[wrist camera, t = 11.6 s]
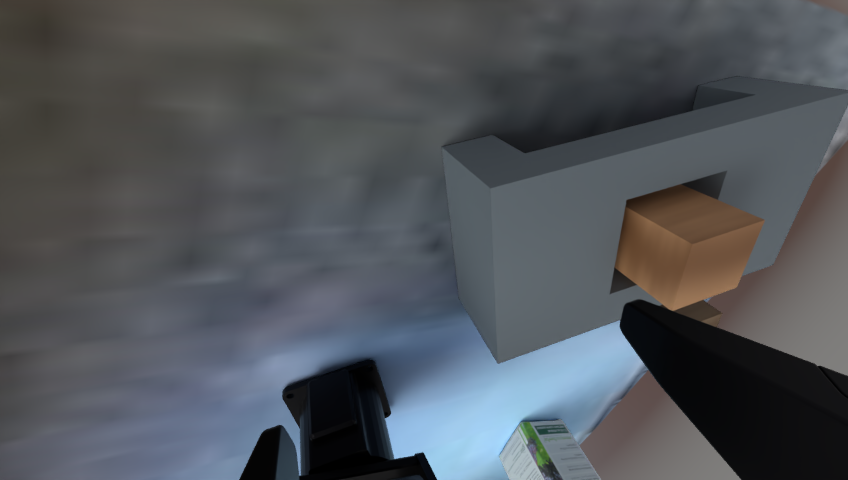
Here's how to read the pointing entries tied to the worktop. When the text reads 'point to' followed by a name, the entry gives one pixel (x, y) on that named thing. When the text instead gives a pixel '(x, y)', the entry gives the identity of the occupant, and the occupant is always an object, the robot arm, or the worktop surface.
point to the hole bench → (620, 203)
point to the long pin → (684, 245)
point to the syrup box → (545, 454)
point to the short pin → (701, 312)
